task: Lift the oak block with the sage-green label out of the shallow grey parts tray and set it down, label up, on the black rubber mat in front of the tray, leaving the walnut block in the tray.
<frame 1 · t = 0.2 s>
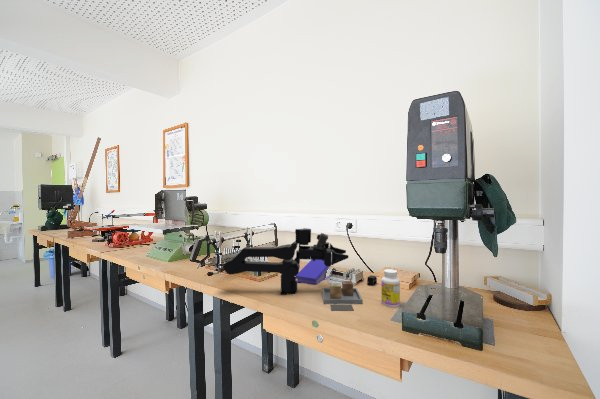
hand: (347, 254, 117), 17 cm above the table, tool horizontal, fingers open, 9 cm apart
parts tray: (341, 298, 110), on the table
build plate: (372, 286, 127), on the table
walnut block: (347, 294, 114), resting on parts tray
labelled block: (335, 300, 108), resting on parts tray
supplement bottle: (390, 305, 104), on the table
purple flat box: (317, 277, 141), on the table
rubber mat: (341, 308, 100), on the table
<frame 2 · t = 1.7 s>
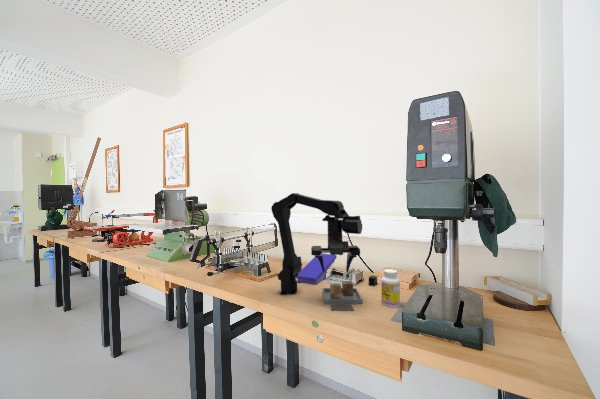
hand: (335, 272, 108), 11 cm above the table, tool pointing down, fingers open, 9 cm apart
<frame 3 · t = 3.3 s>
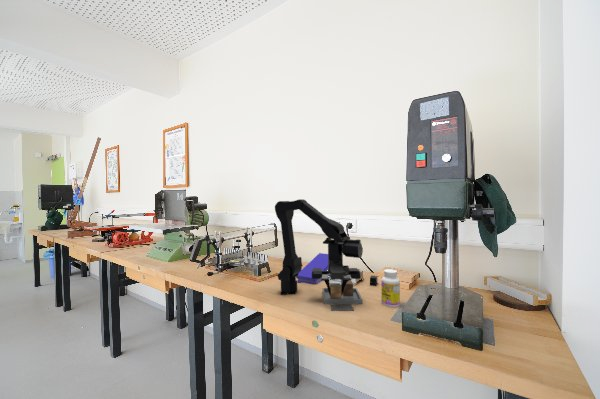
hand: (335, 295, 108), 2 cm above the table, tool pointing down, fingers closed on labelled block, 4 cm apart
labelled block: (335, 300, 108), resting on parts tray, touching gripper
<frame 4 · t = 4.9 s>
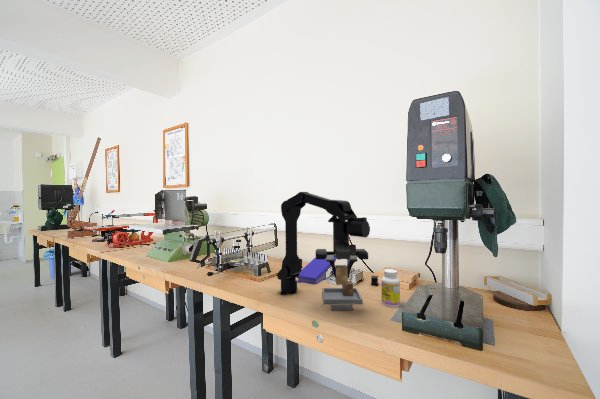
hand: (341, 277, 100), 12 cm above the table, tool pointing down, fingers closed on labelled block, 4 cm apart
labelled block: (341, 283, 100), point 10 cm above the table, touching gripper
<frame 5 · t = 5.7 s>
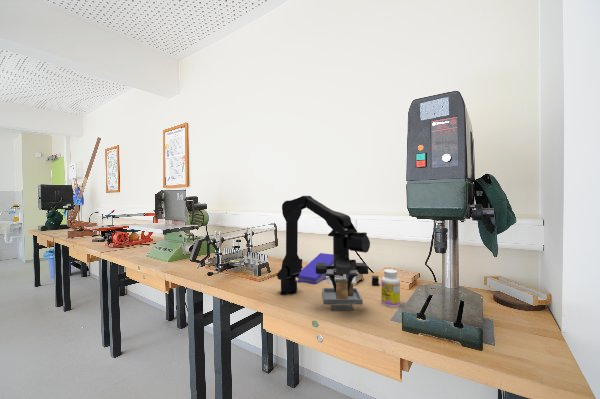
hand: (341, 291, 100), 6 cm above the table, tool pointing down, fingers closed on labelled block, 4 cm apart
labelled block: (341, 297, 100), point 4 cm above the table, touching gripper
when the fingers open (4 cm above the table, at t = 6.5 s): labelled block stays where it is, resting on rubber mat.
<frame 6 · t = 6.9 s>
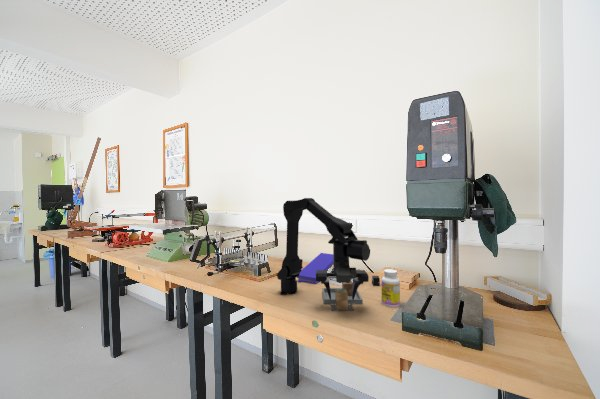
hand: (341, 299, 100), 4 cm above the table, tool pointing down, fingers open, 8 cm apart
labelled block: (341, 307, 100), point 1 cm above the table, touching rubber mat
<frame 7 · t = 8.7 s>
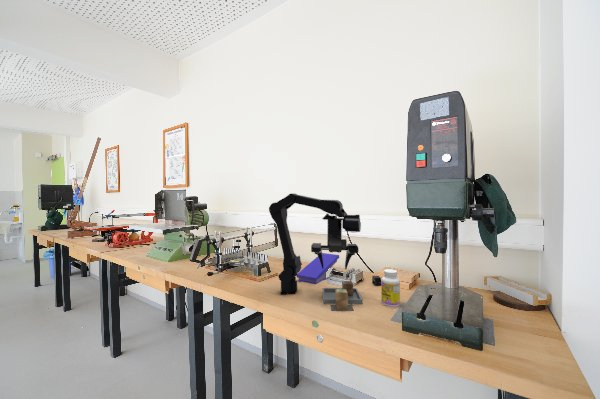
hand: (334, 269, 111), 12 cm above the table, tool pointing down, fingers open, 9 cm apart
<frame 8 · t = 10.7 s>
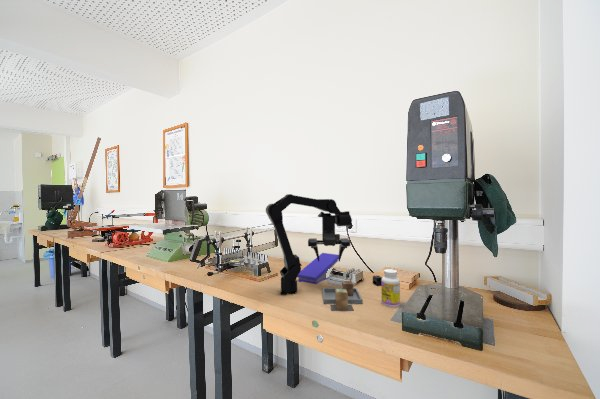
hand: (328, 261, 124), 12 cm above the table, tool pointing down, fingers open, 9 cm apart
at the end: labelled block inside the target area on the rubber mat (0.1 cm from its centre), point 0.6 cm above the rubber mat's base; labelled block tilted 0°; walnut block moved 0.1 cm from its start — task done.
